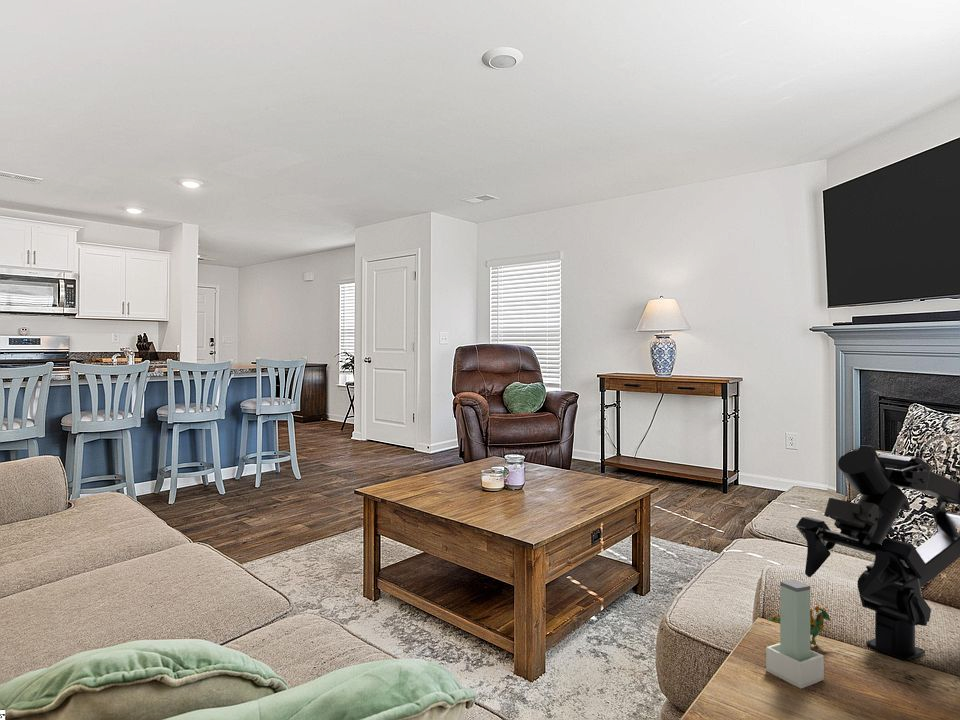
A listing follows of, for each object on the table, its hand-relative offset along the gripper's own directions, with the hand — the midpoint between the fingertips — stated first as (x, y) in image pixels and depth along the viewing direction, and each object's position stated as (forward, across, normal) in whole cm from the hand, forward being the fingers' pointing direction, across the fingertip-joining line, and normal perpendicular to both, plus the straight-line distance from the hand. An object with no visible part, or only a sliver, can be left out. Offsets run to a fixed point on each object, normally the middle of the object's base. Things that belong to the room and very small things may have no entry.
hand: (833, 584), depth 92 cm
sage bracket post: (+15, -1, +4) cm, 15 cm away
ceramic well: (+15, -1, +4) cm, 16 cm away
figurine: (+8, -8, +11) cm, 16 cm away
